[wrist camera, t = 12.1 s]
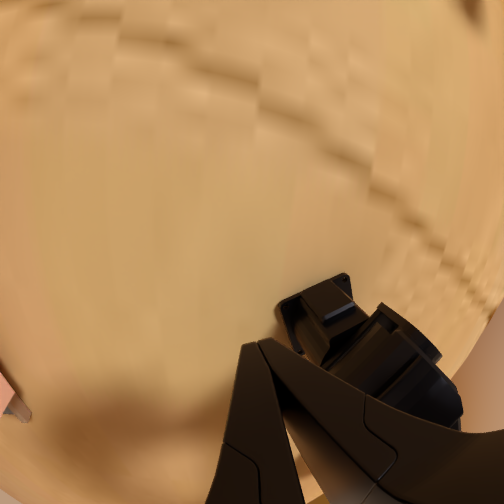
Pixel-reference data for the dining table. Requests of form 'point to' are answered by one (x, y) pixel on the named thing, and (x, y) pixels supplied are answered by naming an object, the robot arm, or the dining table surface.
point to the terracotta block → (4, 394)
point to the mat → (18, 408)
